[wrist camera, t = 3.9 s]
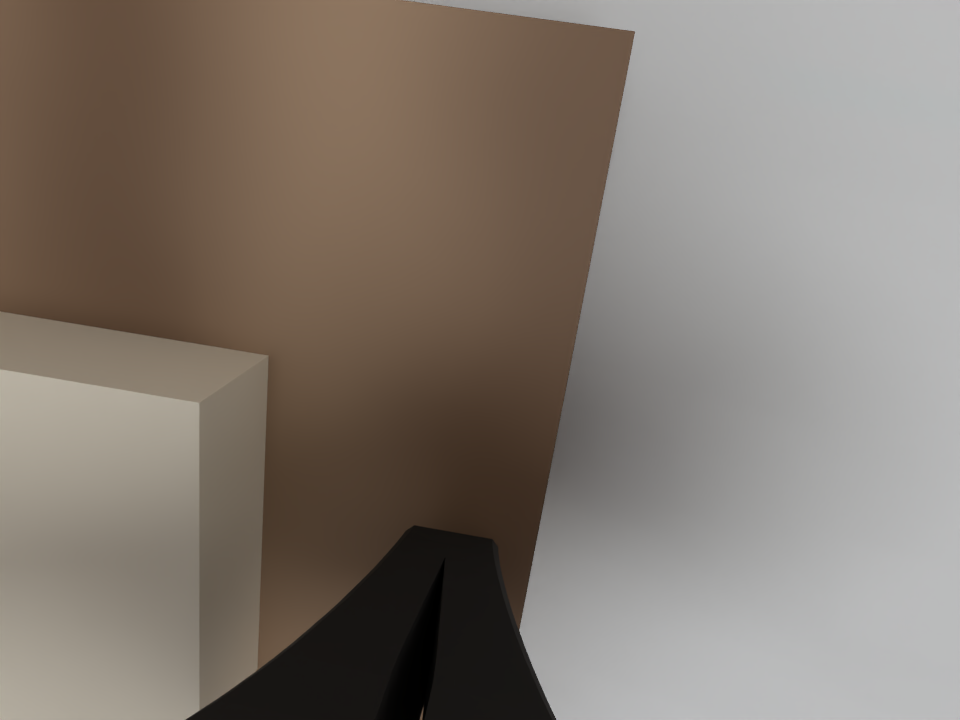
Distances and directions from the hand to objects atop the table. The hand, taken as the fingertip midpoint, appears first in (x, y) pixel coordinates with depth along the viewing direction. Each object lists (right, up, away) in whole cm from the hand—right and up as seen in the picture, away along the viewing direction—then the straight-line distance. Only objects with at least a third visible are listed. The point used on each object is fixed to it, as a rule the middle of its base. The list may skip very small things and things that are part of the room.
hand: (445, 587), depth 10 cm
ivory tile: (-7, +1, +1) cm, 7 cm away
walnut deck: (-5, +2, +4) cm, 7 cm away
